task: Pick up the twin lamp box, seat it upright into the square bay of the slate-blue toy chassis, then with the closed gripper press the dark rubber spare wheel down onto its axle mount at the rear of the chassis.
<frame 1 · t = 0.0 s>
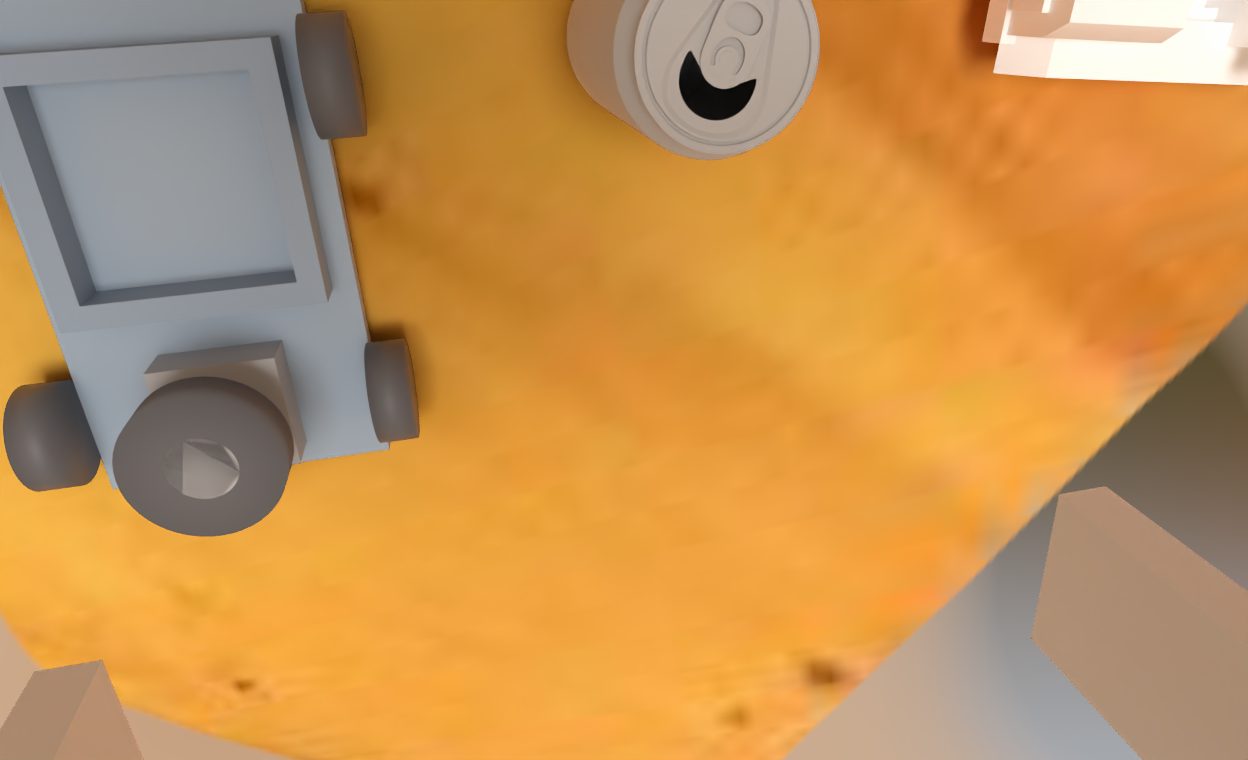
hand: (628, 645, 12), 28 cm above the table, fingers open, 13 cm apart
spare wheel: (213, 444, 33), point 5 cm above the table, slide at 0.0 cm
chassis: (200, 249, 35), on the table
beverage can: (638, 35, 35), on the table
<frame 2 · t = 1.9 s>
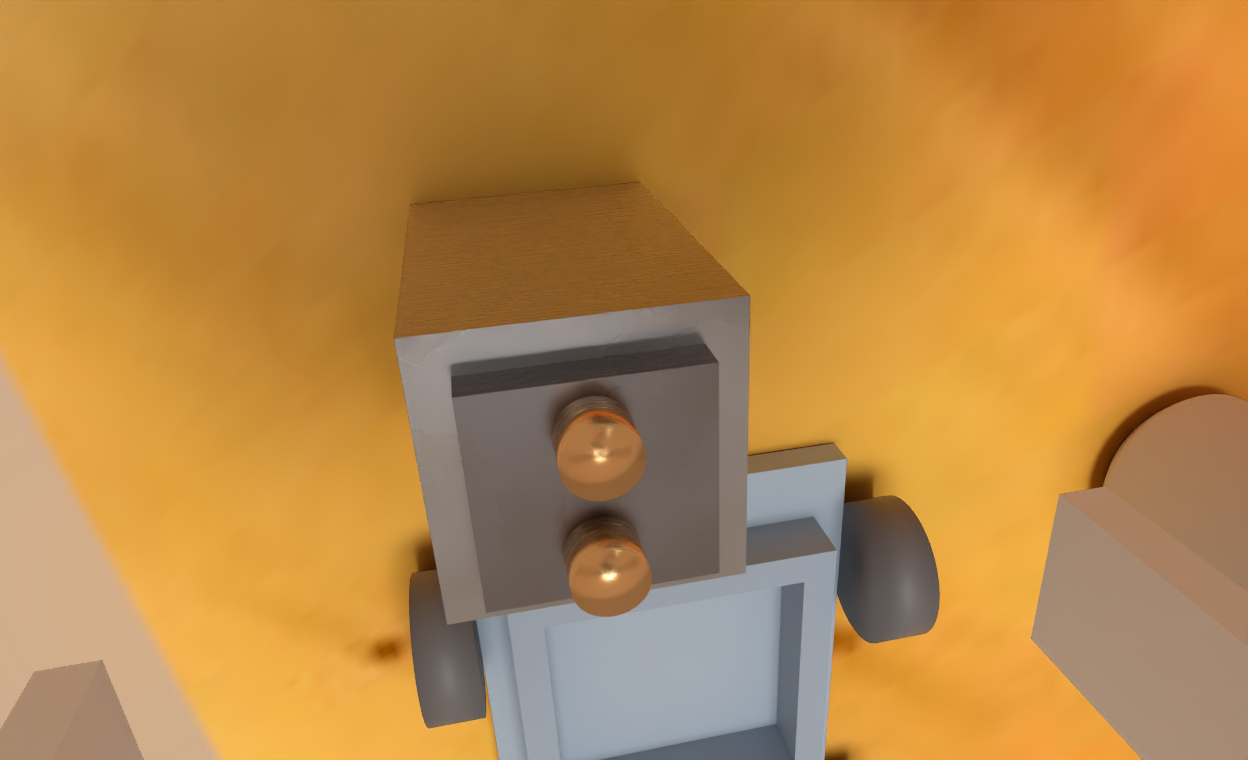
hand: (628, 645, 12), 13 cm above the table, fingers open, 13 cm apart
chassis: (662, 703, 31), on the table
beverage can: (1162, 460, 31), on the table
twin lamp box: (538, 300, 23), on the table
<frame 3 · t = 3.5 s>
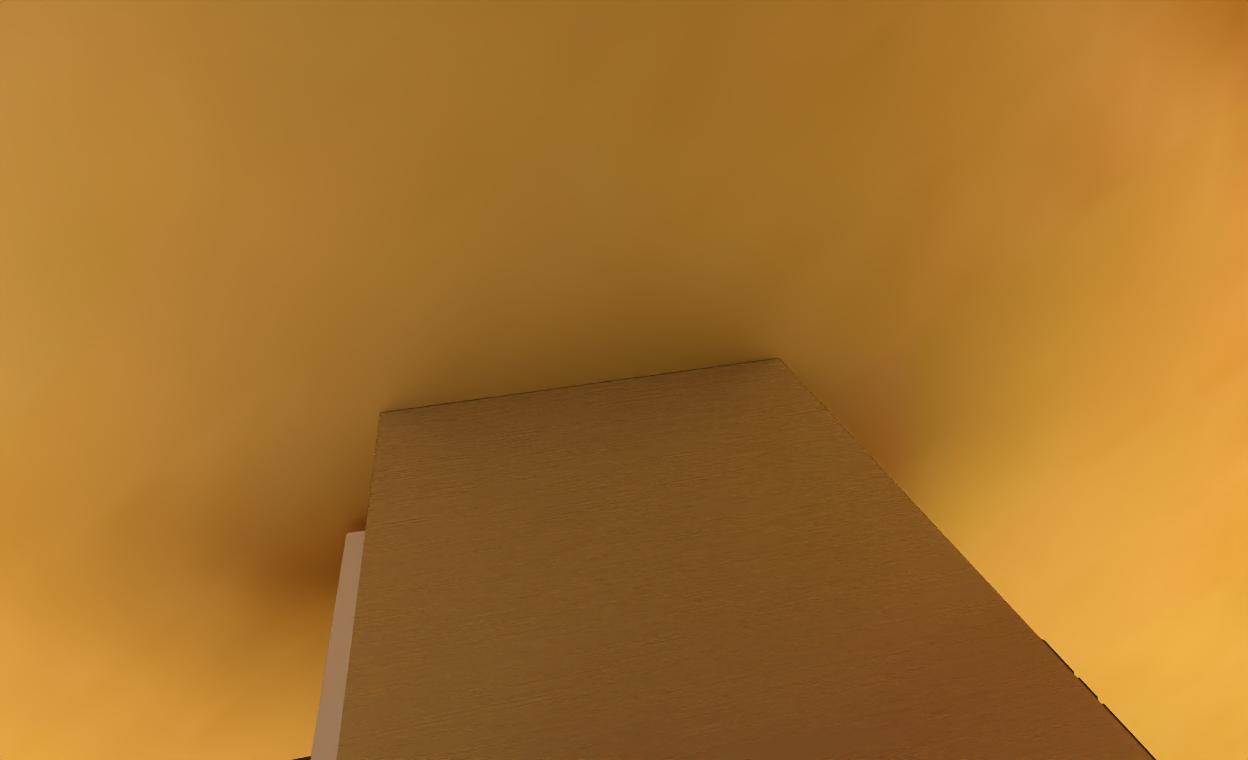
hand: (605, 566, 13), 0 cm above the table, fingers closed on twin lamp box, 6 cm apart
twin lamp box: (600, 549, 14), on the table, touching gripper
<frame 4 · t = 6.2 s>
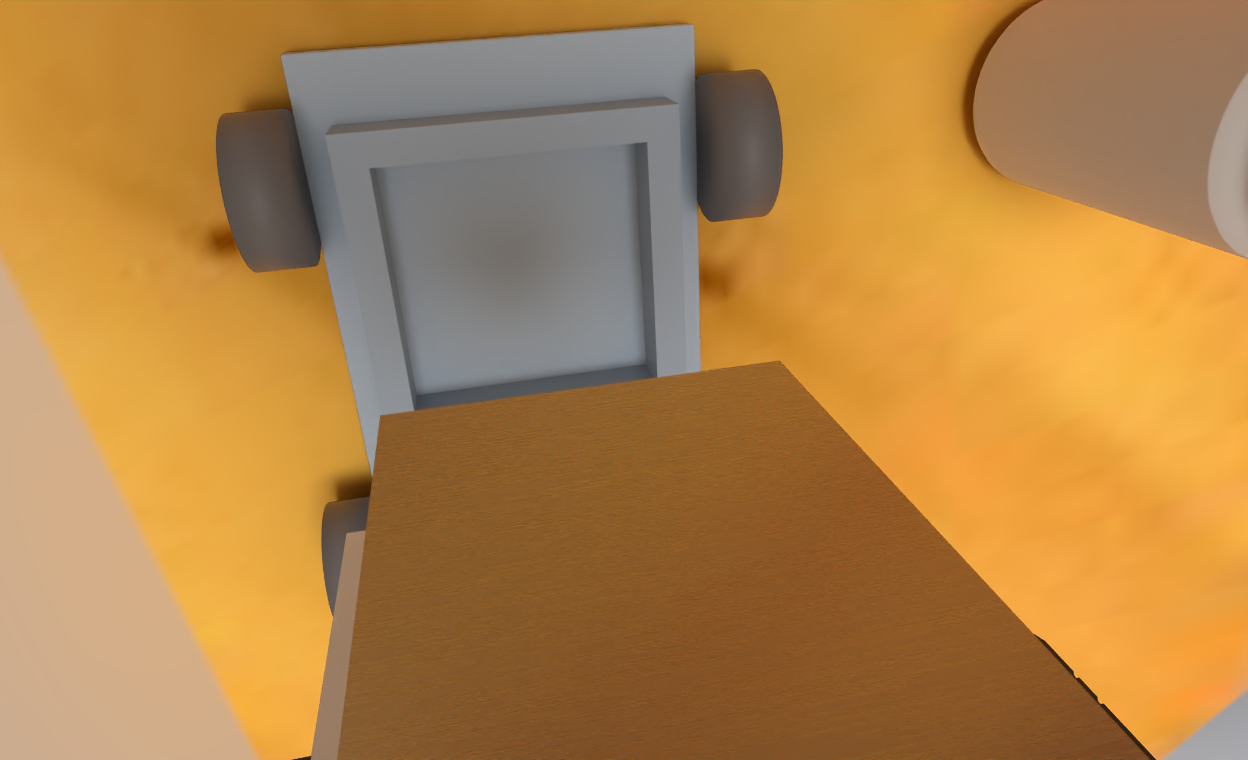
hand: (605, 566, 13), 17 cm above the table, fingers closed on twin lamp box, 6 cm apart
chassis: (527, 342, 30), on the table
beverage can: (1040, 88, 30), on the table
twin lamp box: (600, 552, 14), point 17 cm above the table, touching gripper
when the fingers open (3 cm above the table, at t = 9.0 s): twin lamp box drops 2 cm, resting on chassis.
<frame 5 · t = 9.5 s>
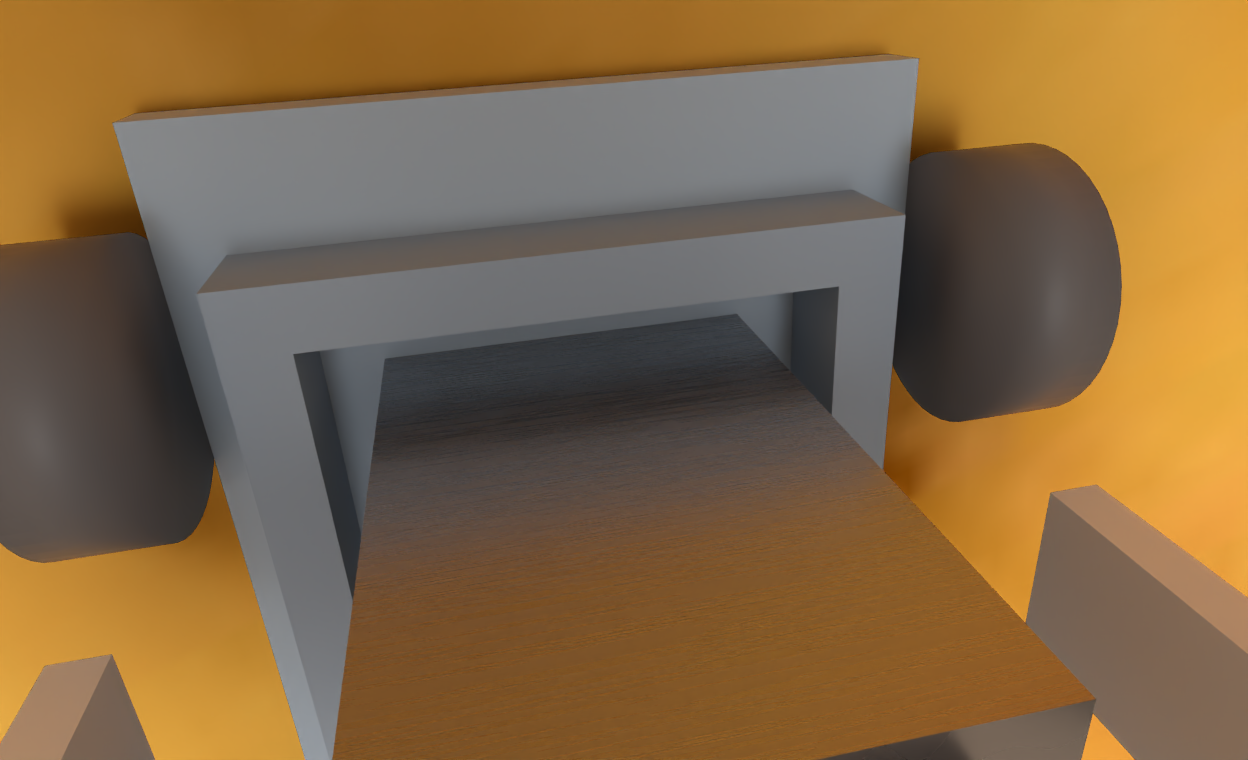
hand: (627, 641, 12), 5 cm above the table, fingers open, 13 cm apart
chassis: (585, 583, 18), on the table
twin lamp box: (580, 486, 16), point 1 cm above the table, touching chassis
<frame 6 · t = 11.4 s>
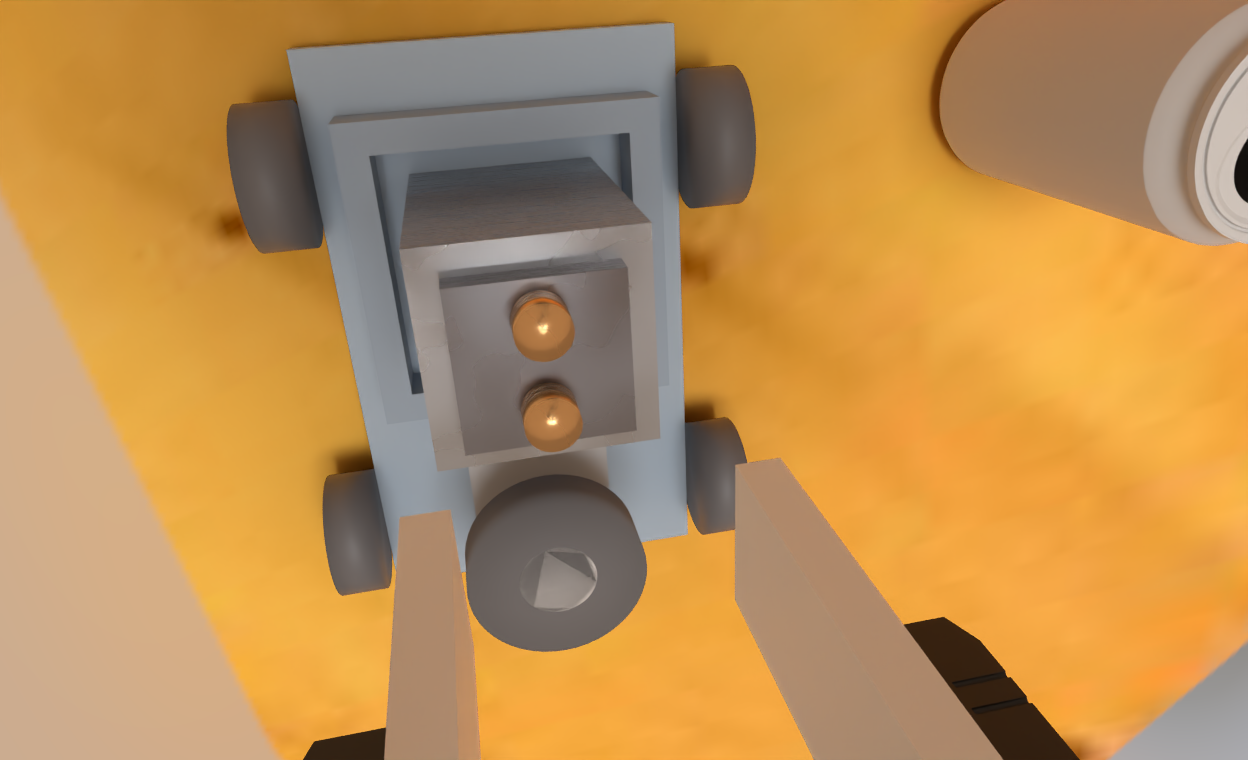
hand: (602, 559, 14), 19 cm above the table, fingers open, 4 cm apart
spare wheel: (551, 546, 30), point 5 cm above the table, slide at 0.0 cm
chassis: (518, 323, 32), on the table
beverage can: (1004, 85, 32), on the table
twin lamp box: (511, 252, 29), point 1 cm above the table, touching chassis
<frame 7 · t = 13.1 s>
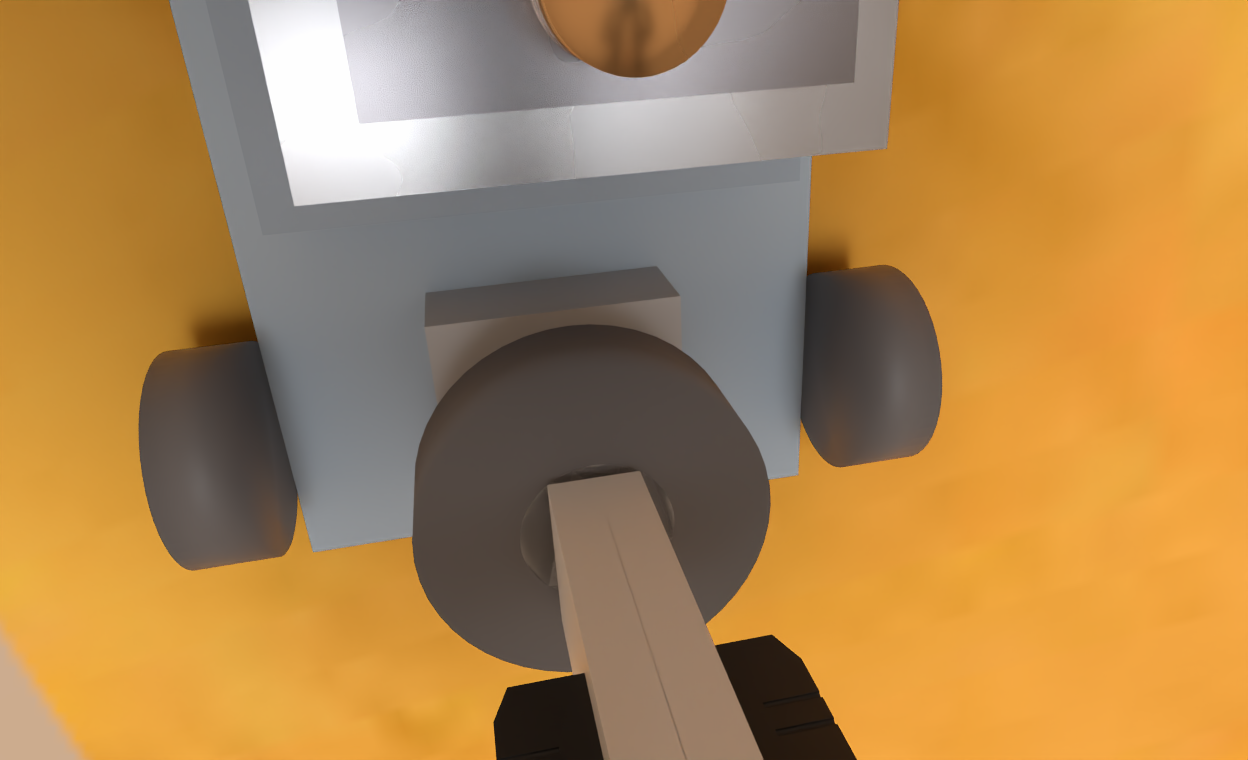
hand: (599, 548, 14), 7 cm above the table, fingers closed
spare wheel: (580, 473, 16), point 5 cm above the table, slide at 0.1 cm, touching gripper
chassis: (519, 77, 17), on the table
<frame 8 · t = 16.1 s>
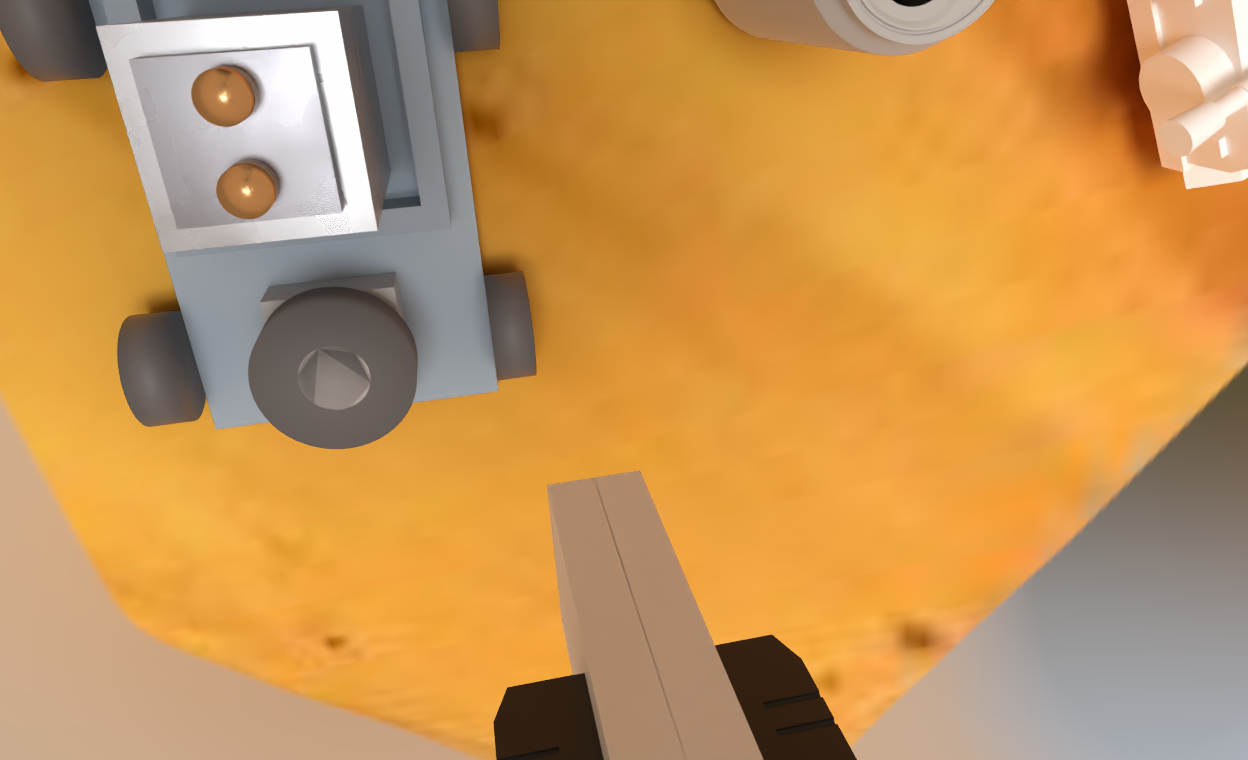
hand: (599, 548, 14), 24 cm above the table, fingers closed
spare wheel: (339, 358, 33), point 3 cm above the table, slide at 1.6 cm
chassis: (315, 175, 34), on the table
twin lamp box: (294, 98, 31), point 1 cm above the table, touching chassis
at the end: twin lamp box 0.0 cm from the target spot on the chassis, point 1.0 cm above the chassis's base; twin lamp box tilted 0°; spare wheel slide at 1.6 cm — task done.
